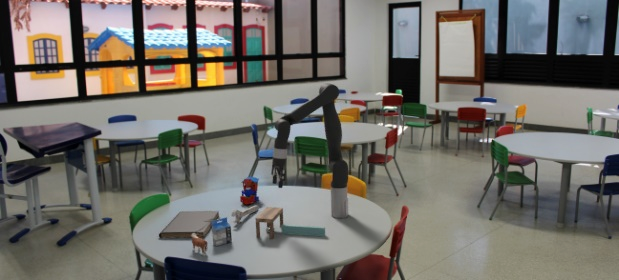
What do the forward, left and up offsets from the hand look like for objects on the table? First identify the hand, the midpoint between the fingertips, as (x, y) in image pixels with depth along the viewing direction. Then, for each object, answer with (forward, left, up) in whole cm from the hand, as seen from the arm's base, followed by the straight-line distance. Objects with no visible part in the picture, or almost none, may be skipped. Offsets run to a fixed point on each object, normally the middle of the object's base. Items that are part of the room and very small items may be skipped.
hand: (277, 185), depth 288 cm
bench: (+1, +12, -22) cm, 25 cm away
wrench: (+22, -7, -22) cm, 32 cm away
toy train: (+30, -34, -22) cm, 50 cm away
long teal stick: (-17, +12, -22) cm, 30 cm away
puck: (+1, +12, -22) cm, 25 cm away
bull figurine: (+27, +43, -22) cm, 55 cm away
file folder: (+47, +12, -23) cm, 53 cm away
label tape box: (+20, +31, -22) cm, 43 cm away
